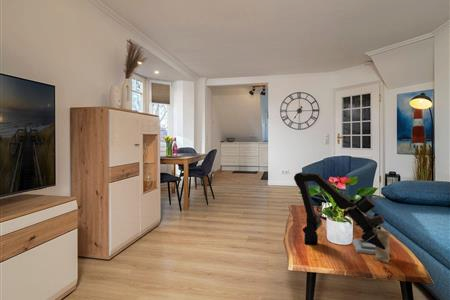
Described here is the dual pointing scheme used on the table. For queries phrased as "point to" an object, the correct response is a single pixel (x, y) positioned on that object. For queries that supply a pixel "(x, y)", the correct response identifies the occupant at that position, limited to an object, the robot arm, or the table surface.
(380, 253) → the birch block
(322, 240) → the table surface
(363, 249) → the baseplate
